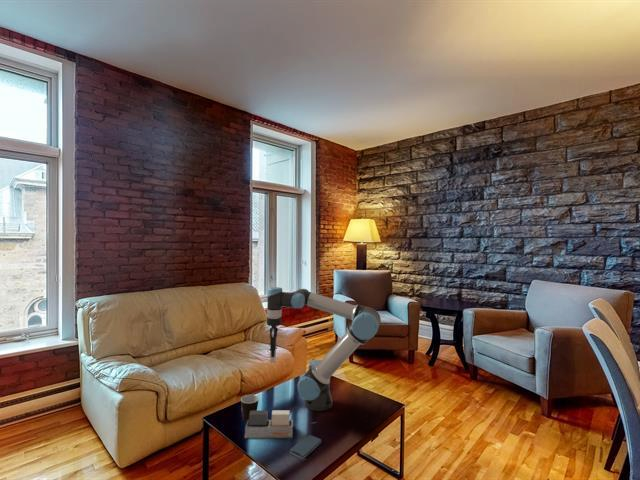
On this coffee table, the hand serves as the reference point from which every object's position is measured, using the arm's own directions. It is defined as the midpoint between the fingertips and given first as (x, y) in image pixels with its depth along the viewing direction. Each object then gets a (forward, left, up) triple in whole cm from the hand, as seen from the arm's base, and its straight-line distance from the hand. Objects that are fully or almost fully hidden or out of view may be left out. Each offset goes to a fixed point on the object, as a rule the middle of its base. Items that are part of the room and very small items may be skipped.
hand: (272, 362), depth 169 cm
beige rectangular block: (-6, +20, -23) cm, 32 cm away
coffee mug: (+10, +8, -25) cm, 28 cm away
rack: (-1, +21, -24) cm, 32 cm away
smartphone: (-18, +31, -25) cm, 44 cm away
